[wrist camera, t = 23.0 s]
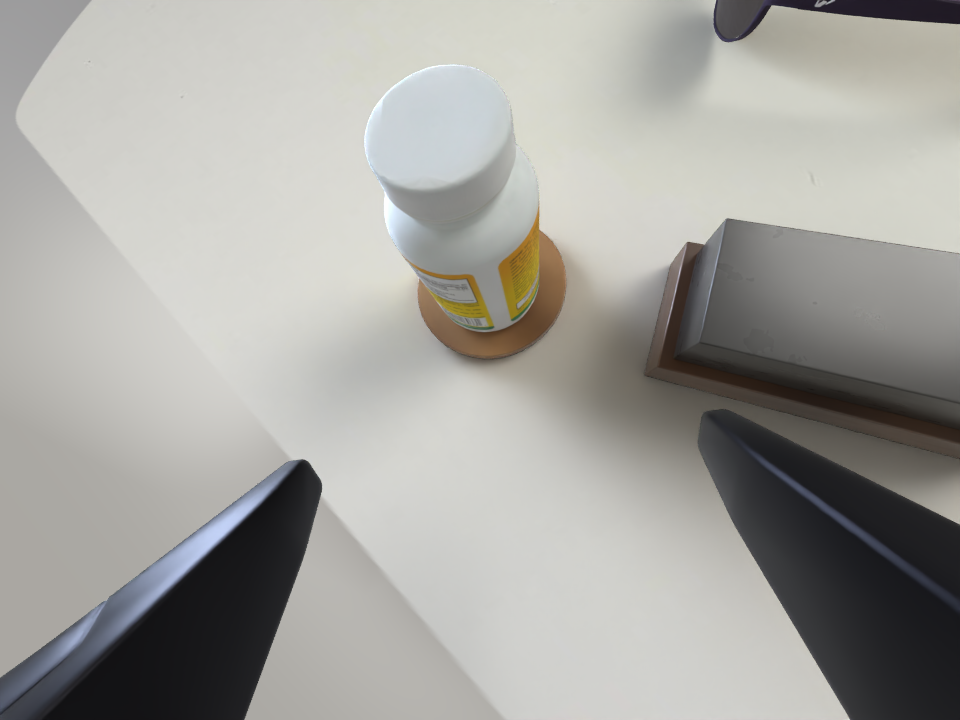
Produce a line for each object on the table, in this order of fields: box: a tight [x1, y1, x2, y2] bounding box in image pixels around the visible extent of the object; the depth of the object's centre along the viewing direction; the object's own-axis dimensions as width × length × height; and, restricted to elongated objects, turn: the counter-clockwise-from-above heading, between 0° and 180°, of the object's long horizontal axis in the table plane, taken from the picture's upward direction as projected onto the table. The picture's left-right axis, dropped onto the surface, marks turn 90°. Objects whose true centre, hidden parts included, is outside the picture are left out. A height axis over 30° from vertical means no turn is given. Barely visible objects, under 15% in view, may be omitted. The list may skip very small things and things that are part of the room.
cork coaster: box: [418, 230, 566, 359], centre depth 18 cm, size 8×8×1 cm
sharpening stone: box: [644, 219, 960, 459], centre depth 13 cm, size 13×6×4 cm, turn 72°
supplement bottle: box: [365, 64, 540, 332], centre depth 13 cm, size 5×5×10 cm
